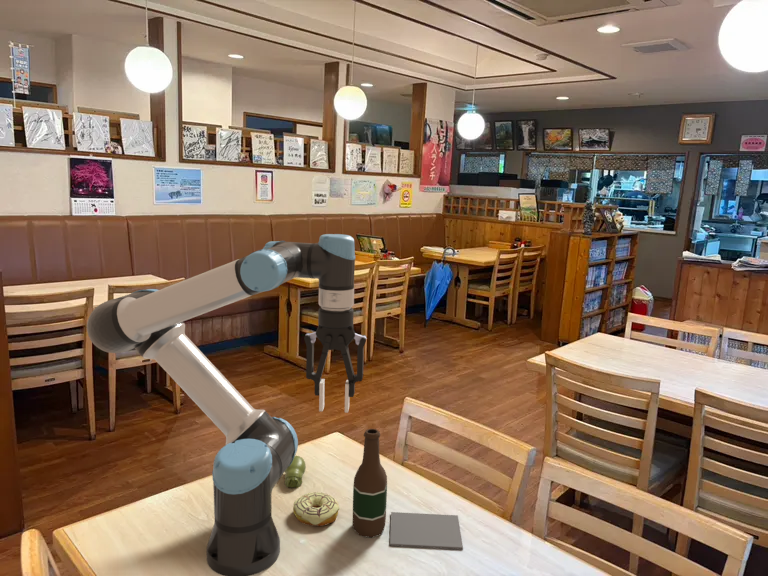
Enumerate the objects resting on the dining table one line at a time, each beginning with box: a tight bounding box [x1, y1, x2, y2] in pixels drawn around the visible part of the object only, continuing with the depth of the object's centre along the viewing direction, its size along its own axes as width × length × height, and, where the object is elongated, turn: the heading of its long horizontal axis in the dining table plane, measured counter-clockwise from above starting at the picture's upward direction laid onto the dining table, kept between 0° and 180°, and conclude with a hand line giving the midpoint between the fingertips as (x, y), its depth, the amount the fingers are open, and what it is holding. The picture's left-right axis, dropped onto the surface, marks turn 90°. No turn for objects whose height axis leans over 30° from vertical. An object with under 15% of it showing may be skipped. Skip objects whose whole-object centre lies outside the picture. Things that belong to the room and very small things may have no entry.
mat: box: [389, 511, 464, 551], centre depth 129 cm, size 16×12×1 cm
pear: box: [284, 455, 307, 488], centre depth 149 cm, size 6×5×10 cm
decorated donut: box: [292, 491, 340, 527], centre depth 133 cm, size 10×11×4 cm
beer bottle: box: [351, 428, 388, 539], centre depth 127 cm, size 8×8×24 cm
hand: (334, 409), depth 124 cm, fingers open, 5 cm apart
